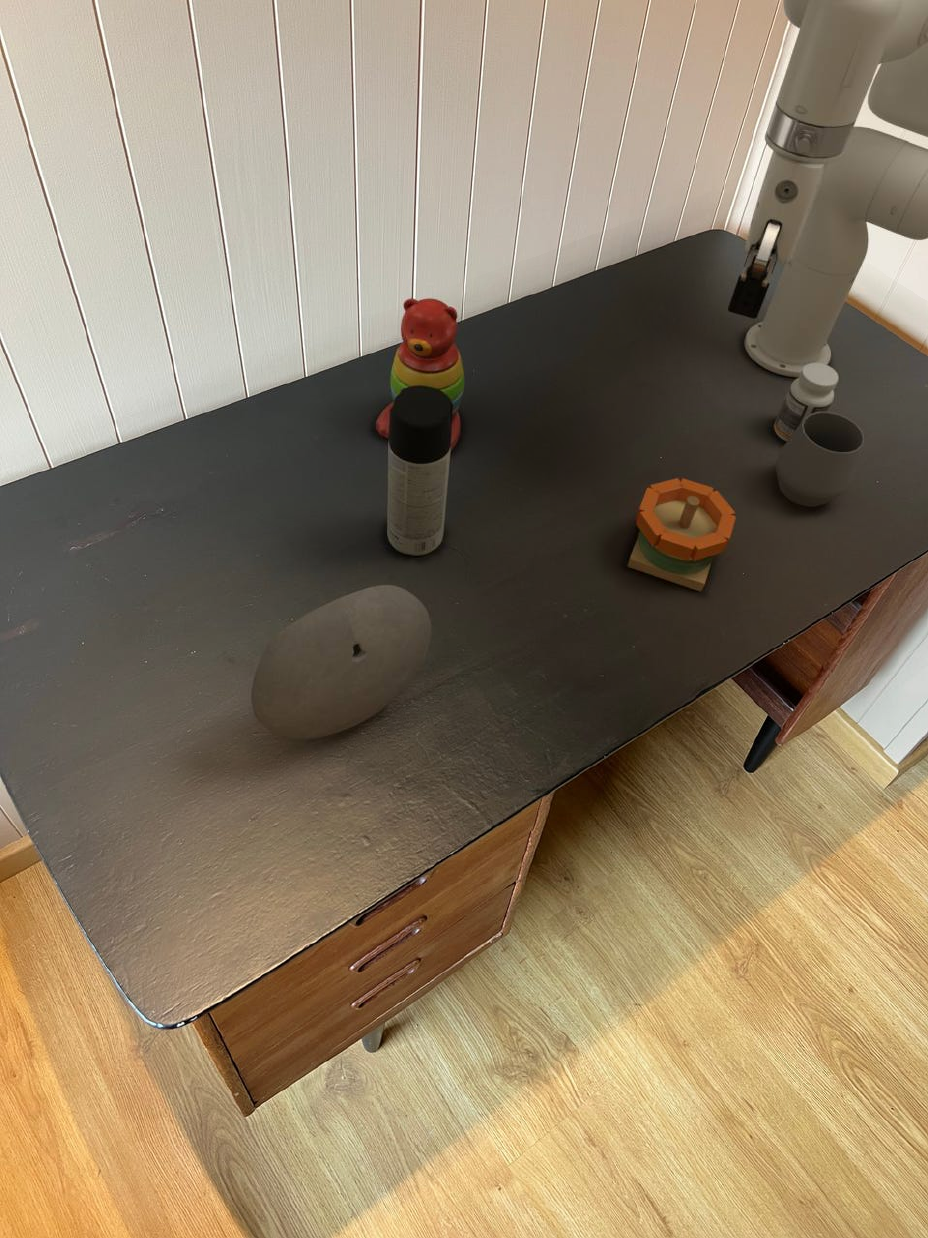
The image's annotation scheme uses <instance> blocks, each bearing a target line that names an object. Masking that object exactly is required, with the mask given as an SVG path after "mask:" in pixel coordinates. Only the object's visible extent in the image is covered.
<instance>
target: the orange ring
mask: <svg viewBox="0 0 928 1238" xmlns="http://www.w3.org/2000/svg"><path fill="white" fill-rule="evenodd" d="M690 496H694V497H697V498H698V499H699V505H698V506H700V507H703V508H704V509H705V511H706V512H707V513H708V515H709V516H710V517H711V518H712V520H713V521H714V522H715V523H716V525H717V528H716V531H715V533H711V534H708V535H704V536H701V537H698V538H694V539H693V538H690V537H687V536H684V535H681V534H678V533H675V532H672V531H669V530H667V529H666V528H665V527H664V525H663V524H662V523H661V521H660V520H659V519H658V517H657V516H656V514H655V513H654V512H653V511H654V509H655V507H656V506H657V505H659V504H663V503H666V502H670V501H674V500H681V501H684V502H686V501H687V498H688V497H690ZM735 514H736V512H735V510H734V509H733V508H732V507H731V505H730V504H729V503H728V502H727V500H726V499H725V498H724V497H723V495H722V494H721V493H720V492H719V490H714V487H712V486H708V485H706V484H703V483H699V482H696V481H694V480H689V479H688V478H687V479H686V478H684V477H682V478H681V480H680V479H679V478H678V477H676V478H672V479H669V480H665V481H661V482H658V483H654V484H650V485H649V487H647V488H646V490H645V492H644V495H643V498H642V500H641V502H640V505H639V507H638V511H637V513H636V517H635V522H636V523H635V525H636V526H637V528H638V529H639V531H640V530H641V532H642V533H643V535H644V536H645V537H646V539H647V540H648V542H649V543H650V544H651V546H652V547H654V546H657V549H656V550H658V551H661V552H664V553H667V554H670V555H673V556H676V557H679V558H682V559H685V560H688V561H689V559H690V557H691V558H692V560H693V561H696V560H699V559H702V558H706V557H709V556H712V555H715V556H716V555H719V554H722V552H723V551H725V550H726V548H727V546H728V544H729V542H730V539H731V536H732V532H733V529H734V527H735V526H734V525H735V522H736V519H737V516H736V515H735Z"/></svg>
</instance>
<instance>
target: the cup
mask: <svg viewBox="0 0 928 1238" xmlns="http://www.w3.org/2000/svg"><path fill="white" fill-rule="evenodd" d="M865 439H866V438H865V436H864V432H863V430H862V428H860V426H859V425H858V424H857V423H856V422H854V421H853V420H852V419H850V418H849V417H848V416H847V417H846V416H844V415H842V414H839V413H837V412H832V411H828V412H815V413H812V414H809V415H808V416H807V417H806V418H805V419H804V420H803V421H802V422H801V424H800V425H799V426H798V428H797V429H796V430H795V432H794V433H793V434H792V436H791V437H790V438H789V440H788V441H787V442H786V443H785V444H784V445H783V446H782V448H781V449H780V451H778V455H777V459H776V462H775V470H776V475H777V481H778V486H779V490H780V492H782V494H783V495H784V496H785V497H786V498H787V499H788V500H789V501H791V502H793V503H794V504H797V505H799V506H803V507H808V508H809V507H810V508H811V507H819V506H821V505H824V504H827V503H828V502H830V501H832V500H834V499H836V498H838V497H839V496H841V495H842V494H843V493H844V492H845V491H847V489H848V488H850V486H851V484H852V482H853V479H854V476H855V473H856V469H857V466H858V463H859V460H860V457H861V454H862V451H863V447H864V444H865Z"/></svg>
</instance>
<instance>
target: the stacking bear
mask: <svg viewBox="0 0 928 1238" xmlns="http://www.w3.org/2000/svg"><path fill="white" fill-rule="evenodd" d="M403 310H404V311H405V312H404V314H403V315H402V319H401V324H400V336H401V339H402V342H401V344H400V345H399V347H398V348H397V350H396V352H395V355H394V359H393V363H392V366H391V371H390V380H389V381H390V383H389V384H390V392H391V397H392V400H393V401H392V402H390V404H388V405H387V406H386V407H385V409H383V410H382V412H381V413H380V414H379V416H378V417H377V419H376V422H375V429H376V431H377V433H378V435H380V436H381V437H384V438H385V439H387V440H389V418H390V409H391V408H392V407H393V404H394V400H395V398H396V396H397V395H399V394H400V392H401V390H402V389H404V388H407V387H411V386H417V385H424V386H429V387H433V388H436V389H439V390H441V391H442V392H444V393H445V394H446V395H447V396H448V397H449V398H450V399H451V401H452V403H453V416H452V435H451V451H450V452H452V451H453V450H454V448H455V447H456V445H457V444H458V442H459V439H460V436H461V431H462V430H461V427H462V425H461V423H462V422H461V417H460V414H459V408H460V405H461V402H462V399H463V396H464V391H465V383H466V381H465V371H464V367H463V360H462V356H461V354H460V351H459V348H458V347H457V345H456V344H455V340H456V337H457V332H458V322H457V319H458V311H457V310H456V308H455V307H452V306H449V305H448V304H446V303H445V302H444V301H442V300H440V299H437V298H433V297H432V298H428V297H427V298H423V299H419V300H417V299H415V298H413V297H411V298H407V299H406V300H405V301H404V302H403Z"/></svg>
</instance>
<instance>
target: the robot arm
mask: <svg viewBox="0 0 928 1238" xmlns="http://www.w3.org/2000/svg"><path fill="white" fill-rule="evenodd" d="M782 3H783V5H782V6H783V10H784V13H785V16H786V19H788V21H789V22H790V23H791V25H793V26H794V27H796V28H798V29H799V30H798V34H797V37H796V40H795V43H794V45H793V48H792V51H791V54H790V58H789V61H788V63H787V67H786V70H785V73H784V76H783V79H782V82H781V85H780V88H779V91H778V94H777V97H776V100H775V103H774V107H773V110H772V113H771V116H770V119H769V122H768V124H767V128H766V131H765V134H764V141H765V143H766V145H767V146H768V147H769V148H770V150H772V153H771V156H770V160H769V162H768V165H767V168H766V171H765V174H764V177H763V181H762V184H761V186H760V190H759V193H758V197H757V200H756V203H755V205H754V206H755V207H754V211H753V214H752V217H751V222H750V224H749V230H748V233H747V237H746V242H745V246H744V250H745V252H746V253H747V257H746V260H745V262H744V266H743V267H744V268H743V271H742V273H741V274H739V275H738V278H737V281H736V284H735V286H734V290H733V292H732V295H731V298H730V301H729V304H728V307H727V312H729V313H732V314H735V315H739V316H743V317H746V318H749V319H753V320H754V319H757V318H758V316H759V315H760V311H761V308H762V305H763V304H764V301H765V298H766V295H767V293H768V289H769V287H770V285H771V284H770V283H769V281H770V278H771V275H772V274H773V272H774V270H775V267H776V264H777V261H778V262H781V263H783V264H784V266H783V269H782V272H781V274H780V277H779V279H778V281H777V283H776V286H775V289H774V292H773V295H772V297H771V300H770V302H769V305H768V307H767V309H766V312H765V315H764V317H763V321H761V322H757V323H756V324H754V325H752V326H751V327H750V328H749V329H748V330H747V332H746V335H745V338H744V348H745V351H746V352H747V354H748V356H749V357H750V358H751V360H752V361H754V362H755V363H756V364H758V365H759V366H760V367H762V368H764V369H765V370H767V371H769V372H772V373H775V374H777V375H781V376H785V377H790V378H799V375H800V373H801V371H802V369H803V367H804V366H805V365H807V364H810V363H821V364H825V365H827V366H829V364H830V361H831V358H832V351H831V348H830V346H829V344H828V339H829V337H830V335H831V333H832V330H833V329H834V326H835V324H836V322H837V320H838V317H839V316H840V313H841V312H842V309H843V307H844V305H845V302H846V300H847V298H848V296H849V294H850V292H851V289H852V287H853V285H854V283H855V281H856V279H857V276H858V275H859V272H860V270H861V268H862V266H863V264H864V262H865V260H866V256H867V254H868V249H869V242H870V240H869V238H870V237H869V229H868V224H871V225H874V226H876V227H879V228H881V229H884V230H886V231H889V232H891V233H893V234H896V235H899V236H901V237H904V238H907V239H910V240H915V241H923V240H927V239H928V148H926V147H923V146H921V145H917V144H915V143H912V142H909V141H908V140H906V139H904V138H903V139H902V138H900V137H897V136H895V135H891V134H890V133H887V132H884V131H881V130H878V129H874V128H870V127H864V126H855V124H856V122H857V119H858V116H859V114H860V112H861V109H862V107H863V105H864V102H865V100H866V97H867V105H868V109H869V110H870V112H871V113H872V114H873V115H874V116H876V117H877V118H878V119H880V120H882V121H884V122H887V123H888V124H891V125H893V126H895V127H898V128H901V129H903V130H906V131H909V132H912V133H915V134H916V135H917V134H918V135H920V136H923V137H926V138H928V0H783V1H782ZM878 66H879V68H878ZM877 68H878V70H877ZM876 71H877V72H876ZM867 94H868V95H867Z"/></svg>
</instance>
